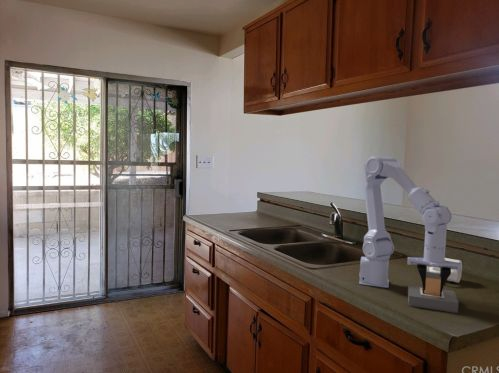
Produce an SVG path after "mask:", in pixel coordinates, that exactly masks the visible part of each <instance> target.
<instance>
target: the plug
mask: <svg viewBox="0 0 499 373" xmlns="http://www.w3.org/2000/svg"><path fill="white" fill-rule="evenodd" d="M440 285H441V275H440V273H434V272H427V271H426V286H425V290H424V294H426V295H433V296H440Z"/></svg>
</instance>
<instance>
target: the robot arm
mask: <svg viewBox="0 0 499 373" xmlns="http://www.w3.org/2000/svg"><path fill="white" fill-rule="evenodd" d="M363 176H364V177H363V189H364V190H363V191H364V200H365V210H366V218H367V228H368V231H367V232H366V234H365V235H364V236H363V244H362V252H363V254H364V256H361V257H360V262H359V263H360V265H359V272H358V273H359V275H358V276H359V282H358V283H359V284H360V285H365V286H370V287H371V286H372V287H377V288H378V287H379V288H385V289H388V288H390V287H389V285H390V280H389V278H388V277H389V264H390V259H391V255H393V253H394V251H395V244H394V243H393V240H392V237H391V234H390V233H389V232H388V231H387V230H386V226H385V225H386V224H385V215H384V208H383V207H384V206H383V199H382V198H383V197H382V190H381V185H382V184H383V183H384V182H385V181H386V180H387V179H388V178H391V179H393V180H394V181H395V182H396V183H397V184H398V185H399V186H400V187H401V188H402V189H403V190H404V191H405V192H406V193H407V194H408V201H409V202H410V203H411V204H412V205H413V206H414V207H415V209H416V210H418V212H419V213H420V214H421V219H422V223H423V224H424V229H425V230H424V231H425V232H424V244H423V245H424V247H423V248H424V249H423V257H411V256H410V257H409V256H408V257H407V265H409V266H411V265H414V266H416V268H417V271H418V274H419V276H420V280H421V284H422V287H423V290H425V286H426V272H427V266H429V267H438V268H440V275H441V285H440V292H441V293H442V290H443V289H444V286H445V284H446V282H447V281H446V280H447V279H448V277H449V276H450V274H451V269H455V270H459V271H461V265H462V266H463V263H462V264H461V263H458V262H452V261H446V260H445V258H446V246H447V244H446V243H447V231H448V230H447V229H448V228H447V227H448V224H450V223H451V220H452V213H451V211H450V209H449V207H448V206H446V205H441V204H440V202H439V201H438V200H435V198H434V197H433V196H432V194H430V190H429V189H428V188H424V187H418V185H417V184H416V183H415V182H414V181H413V179H412V178H411V177H410V176H409V174H407V172H406V171H405V170H404V169H403V167H402V164H401V163H400V162H399V161H397V159H396V158H395V157H393V156H377V155H376V156H375V155H374V156H370V157H369V158H368V159H367V160H366V161H365V163H364V175H363Z"/></svg>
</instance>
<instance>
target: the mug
mask: <svg viewBox="0 0 499 373" xmlns="http://www.w3.org/2000/svg"><path fill="white" fill-rule="evenodd" d="M445 260H446V261H452V262H458V263H461V264H462V265H461V271H459V270H455V269H451V274H450V276H449V277H448V279H447V280H446V282H453V283H457V284H458V283H460V281H461V278H462V273H463V272H462V271H463V262H462V260H459V259H452V258H447V257H445ZM426 272H434V273H440V268H438V267H429V266H426Z"/></svg>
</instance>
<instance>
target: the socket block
mask: <svg viewBox="0 0 499 373" xmlns="http://www.w3.org/2000/svg"><path fill="white" fill-rule="evenodd" d="M407 286H408V287H407V301H408V306H409V307H414V308H415V307H416V308H421V309H428V310H435V311H441V312H447V313H455V314H458V313H459V300H458V298H457V295H456V293H455V291H454V290H452V289H450V290H449V289H444V288H443V290H442V293H441V292H440V296H433V295H426V294H424V290H423V285H422V286H421V285H414V284H413V285H412V284H408V285H407Z"/></svg>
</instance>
